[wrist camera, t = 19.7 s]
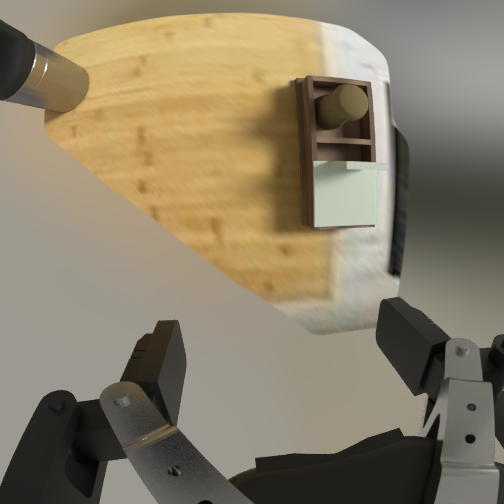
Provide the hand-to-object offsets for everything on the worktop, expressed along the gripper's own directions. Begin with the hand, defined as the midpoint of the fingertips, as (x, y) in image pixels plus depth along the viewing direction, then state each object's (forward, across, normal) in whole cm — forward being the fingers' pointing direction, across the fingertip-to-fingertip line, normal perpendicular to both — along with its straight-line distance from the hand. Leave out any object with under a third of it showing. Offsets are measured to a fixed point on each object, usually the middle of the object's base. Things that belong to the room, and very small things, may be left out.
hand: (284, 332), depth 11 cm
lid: (+32, -15, -1) cm, 36 cm away
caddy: (+38, -16, -8) cm, 42 cm away
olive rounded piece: (+37, -15, -14) cm, 42 cm away
